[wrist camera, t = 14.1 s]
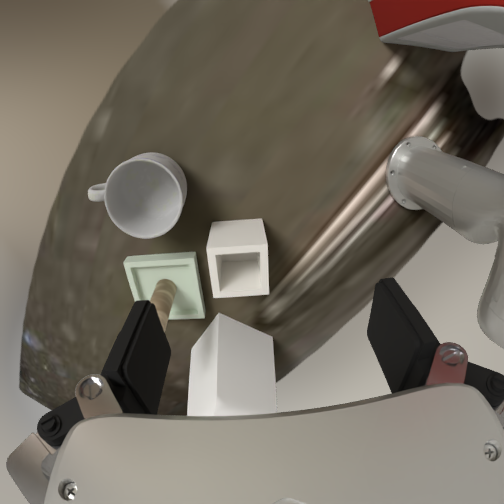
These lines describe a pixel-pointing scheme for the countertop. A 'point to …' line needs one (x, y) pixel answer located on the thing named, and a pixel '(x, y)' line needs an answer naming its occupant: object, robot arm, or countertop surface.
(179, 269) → the tray
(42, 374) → the countertop surface
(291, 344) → the countertop surface
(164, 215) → the teacup
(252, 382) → the milk
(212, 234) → the open box
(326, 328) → the countertop surface
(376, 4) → the red and white block
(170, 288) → the dowel
